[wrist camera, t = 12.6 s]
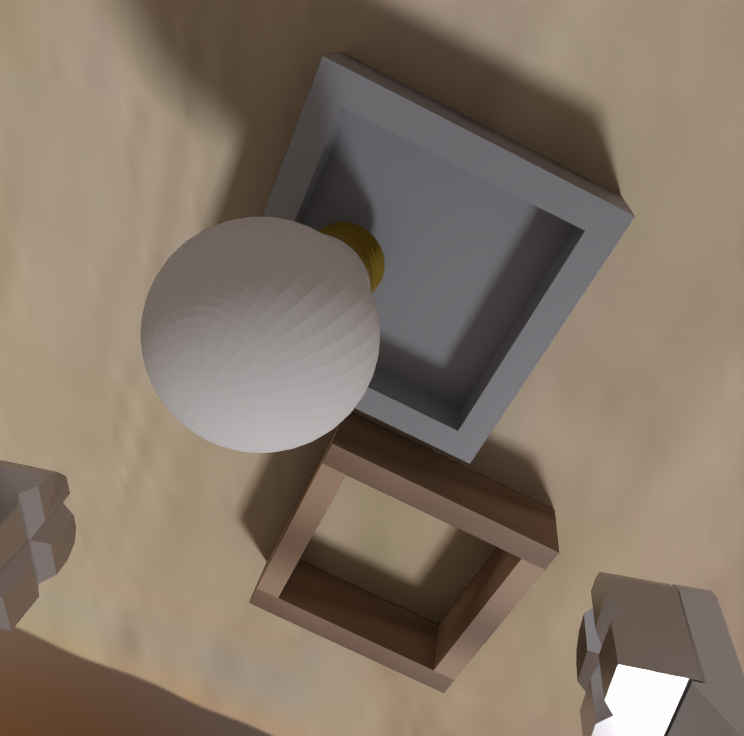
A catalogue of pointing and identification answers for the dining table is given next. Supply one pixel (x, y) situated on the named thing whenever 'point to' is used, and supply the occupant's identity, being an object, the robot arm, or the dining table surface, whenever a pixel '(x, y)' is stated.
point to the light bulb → (264, 330)
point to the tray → (446, 245)
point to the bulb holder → (437, 498)
